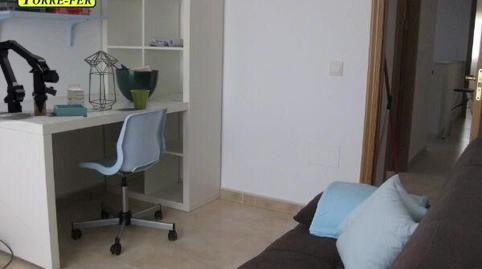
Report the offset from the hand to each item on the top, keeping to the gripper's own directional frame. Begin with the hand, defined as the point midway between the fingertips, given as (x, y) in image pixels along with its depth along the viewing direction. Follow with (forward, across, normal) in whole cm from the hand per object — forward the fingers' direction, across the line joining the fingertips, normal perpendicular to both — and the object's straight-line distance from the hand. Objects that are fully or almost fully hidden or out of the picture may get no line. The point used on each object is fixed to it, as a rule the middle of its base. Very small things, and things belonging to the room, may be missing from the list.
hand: (40, 111), depth 253 cm
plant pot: (+3, +19, -59) cm, 62 cm away
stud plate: (+2, 0, 0) cm, 2 cm away
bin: (+2, 0, -15) cm, 15 cm away
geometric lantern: (+3, +20, -36) cm, 41 cm away
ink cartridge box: (+3, +25, -22) cm, 33 cm away
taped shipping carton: (+2, 0, 0) cm, 2 cm away
